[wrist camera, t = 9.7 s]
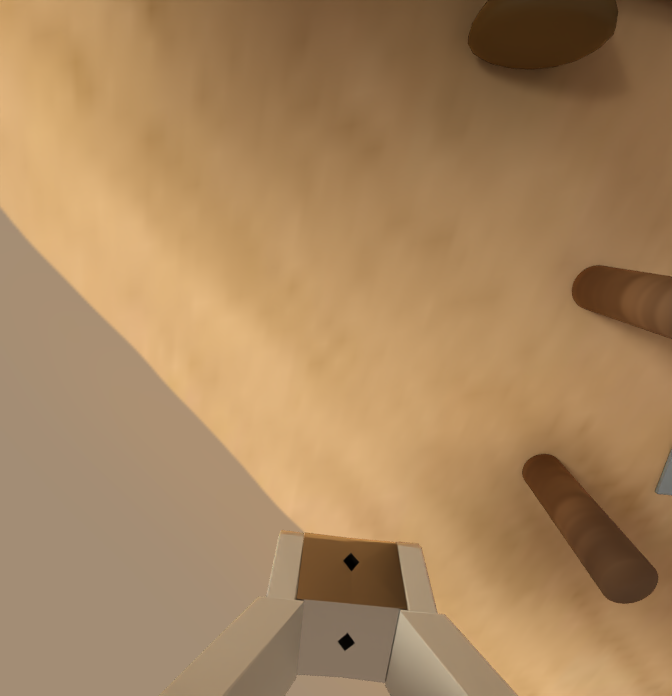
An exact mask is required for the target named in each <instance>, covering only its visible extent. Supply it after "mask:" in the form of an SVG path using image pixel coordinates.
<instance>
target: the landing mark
mask: <svg viewBox="0 0 672 696" xmlns="http://www.w3.org/2000/svg"><path fill="white" fill-rule="evenodd" d="M655 492H656V493H657V494H664V495H672V449H671V452H670V454H669V457H668V460H667V462H666V465H665V467H664V470H663V472H662V475H661V478H660V480H659V483H658V485H657V488H656V490H655Z"/></svg>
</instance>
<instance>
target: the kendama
mask: <svg viewBox="0 0 672 696" xmlns="http://www.w3.org/2000/svg"><path fill="white" fill-rule="evenodd" d="M617 16H618V9H617V4H616V1H615V0H488V1H487V3H486V4H485V5H484V7H483V8H482V9H481V11H480V12H479V13H478V15H477V16H476V18H475V20H474V21H473V23H472V27H471V30H470V33H469V36H468V44H469V46H470V48H471V50H472V52H473V54H475V55H476V56H478V57H480V58H482V59H483V60H485V61H487V62H489V63H491V64H495V65H499V66H504V67H508V68H520V69H538V68H548V67H556V66H560V65H563V64H567V63H570V62H574V61H577V60H579V59H581V58H582V57H584V56H586V55H588V54H590V53H592V52H594V51H595V50H597V49H599V48H600V47H601V46H602V45H603V44H604V43H605V42H606V41H607V40H608V39H609V38H610V37H611V36H612V35H613V34H614V31H615V28H616V22H617Z"/></svg>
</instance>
